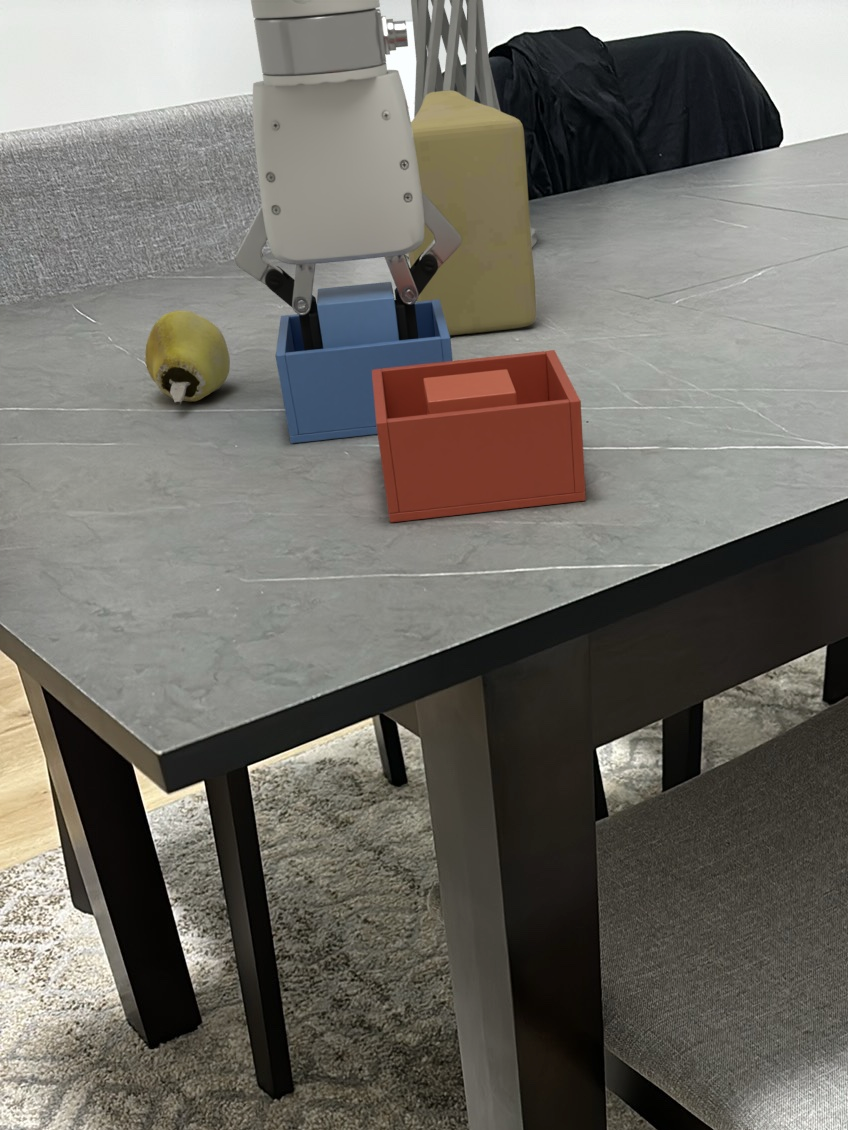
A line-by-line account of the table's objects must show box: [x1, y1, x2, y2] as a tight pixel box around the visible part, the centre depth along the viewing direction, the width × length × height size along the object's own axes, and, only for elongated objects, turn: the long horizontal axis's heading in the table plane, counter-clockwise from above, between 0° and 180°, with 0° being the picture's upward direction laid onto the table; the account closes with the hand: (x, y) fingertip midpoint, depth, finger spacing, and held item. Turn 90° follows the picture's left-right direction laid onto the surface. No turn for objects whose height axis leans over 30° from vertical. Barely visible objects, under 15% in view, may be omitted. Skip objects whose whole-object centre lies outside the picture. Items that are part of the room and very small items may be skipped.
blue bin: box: [275, 299, 454, 444], centre depth 95 cm, size 11×11×6 cm
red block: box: [423, 369, 517, 415], centre depth 81 cm, size 5×5×5 cm
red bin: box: [372, 349, 587, 523], centre depth 81 cm, size 11×11×6 cm
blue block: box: [316, 281, 399, 349], centre depth 93 cm, size 5×5×5 cm
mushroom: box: [144, 309, 231, 405], centre depth 100 cm, size 6×6×10 cm
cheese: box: [408, 90, 537, 337], centre depth 115 cm, size 22×10×15 cm, turn 6°
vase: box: [405, 0, 538, 258], centre depth 129 cm, size 14×13×35 cm
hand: (364, 365), depth 94 cm, fingers closed on blue block, 5 cm apart
